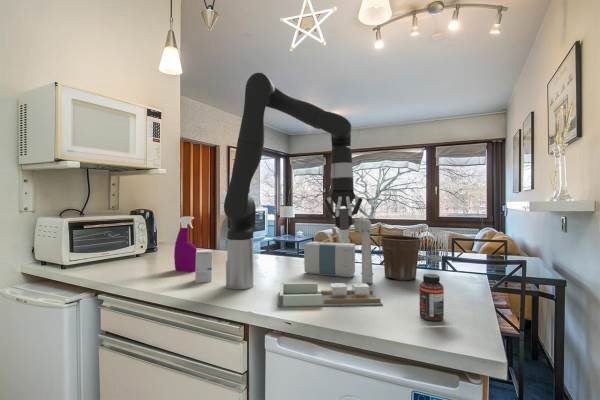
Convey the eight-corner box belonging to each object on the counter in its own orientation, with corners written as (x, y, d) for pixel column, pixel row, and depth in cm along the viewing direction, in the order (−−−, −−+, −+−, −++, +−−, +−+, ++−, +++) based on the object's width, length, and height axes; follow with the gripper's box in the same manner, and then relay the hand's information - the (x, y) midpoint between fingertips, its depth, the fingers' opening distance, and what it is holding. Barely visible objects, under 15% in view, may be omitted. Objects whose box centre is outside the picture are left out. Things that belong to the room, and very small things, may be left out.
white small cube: (354, 299, 97) (354, 286, 97) (351, 295, 102) (351, 282, 102) (369, 299, 98) (369, 286, 98) (365, 295, 102) (365, 282, 102)
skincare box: (195, 284, 117) (194, 252, 117) (196, 281, 122) (196, 250, 122) (212, 283, 119) (212, 251, 119) (212, 280, 123) (212, 249, 123)
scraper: (340, 241, 105) (339, 208, 105) (338, 239, 110) (337, 208, 110) (349, 241, 105) (348, 208, 105) (346, 239, 110) (345, 208, 110)
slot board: (277, 307, 92) (277, 302, 92) (278, 293, 106) (278, 289, 106) (382, 305, 93) (382, 300, 93) (370, 291, 107) (370, 287, 107)
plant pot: (412, 272, 136) (412, 235, 136) (429, 282, 120) (428, 239, 120) (375, 272, 136) (375, 235, 136) (386, 282, 119) (386, 240, 119)
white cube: (332, 300, 97) (332, 287, 97) (330, 295, 102) (330, 283, 102) (346, 299, 97) (346, 286, 97) (344, 295, 102) (344, 283, 102)
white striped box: (303, 274, 133) (303, 227, 133) (310, 270, 140) (310, 225, 140) (352, 279, 125) (352, 228, 125) (356, 274, 132) (356, 227, 132)
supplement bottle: (415, 313, 86) (415, 272, 86) (436, 313, 87) (436, 272, 87) (426, 322, 80) (425, 278, 80) (448, 321, 81) (448, 277, 81)
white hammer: (371, 285, 115) (370, 217, 115) (353, 283, 118) (353, 216, 118) (374, 282, 120) (374, 216, 120) (357, 280, 123) (357, 216, 123)
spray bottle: (177, 271, 139) (177, 216, 139) (198, 272, 136) (198, 216, 136) (172, 272, 136) (172, 216, 137) (194, 274, 133) (194, 216, 134)
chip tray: (279, 306, 92) (279, 295, 92) (280, 292, 106) (280, 283, 106) (322, 305, 92) (322, 295, 92) (317, 291, 106) (317, 282, 106)
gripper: (323, 176, 103) (324, 229, 103) (365, 175, 104) (366, 227, 104) (320, 178, 111) (321, 227, 111) (359, 177, 112) (361, 226, 112)
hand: (343, 227), depth 107 cm, fingers closed on scraper, 3 cm apart
